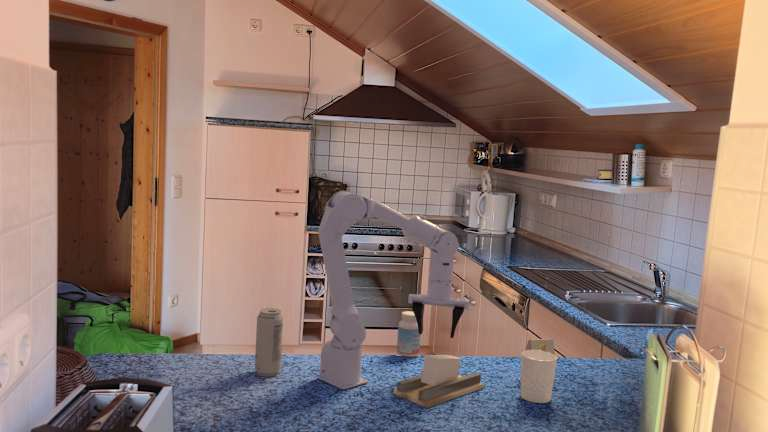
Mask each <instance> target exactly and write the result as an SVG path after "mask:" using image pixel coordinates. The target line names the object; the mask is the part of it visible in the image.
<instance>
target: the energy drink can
mask: <svg viewBox="0 0 768 432" xmlns="http://www.w3.org/2000/svg"><path fill="white" fill-rule="evenodd" d="M281 311H282V310H280V309H279V308H278V309H277V308H271V307H270V308H269V307H268V308H262V309H260V310H259V314H258V315H257V317H256V333H255V337H256V338H255V357H254V359H255V360H254V370H255V372H256V374H257V375H258V376H259V377H274V376H278V374H279V372H281V369H282V347H283V346H282V345H283V327H284V317H283V315H282V314H281Z"/></svg>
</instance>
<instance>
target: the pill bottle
mask: <svg viewBox="0 0 768 432" xmlns="http://www.w3.org/2000/svg"><path fill="white" fill-rule="evenodd" d="M397 327H398V328H397V341H396V353H397V355H398V356H401V357H407V358H414V357H415V358H416V357H417V356H418V355H420V348H421V347H420V346H421V335H422V334H419V331H418V324H417V320H416V317H415V315H414V312H413V310H410V311H409V310H405V311H402V312H401V320H400V321H399V322H398V326H397Z"/></svg>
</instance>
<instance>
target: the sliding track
mask: <svg viewBox="0 0 768 432" xmlns="http://www.w3.org/2000/svg"><path fill="white" fill-rule="evenodd" d="M481 376H482V374H481V373H478V372H473V373H470V374H467V375H460V372H459V373H458V378H457V379H454V380H451V381H448V382H445V383H442V384H439V385H436V386H432V385H429V384H426V383H423V382H421V377H422V374H420V375H418V376H414V377H413V376H412V377H410V378H407V379H404V380H400V381H397V382H396V383H397V384H396V388H394V389H393V395H396V396H398V397H399V398H402V399H405V400H407V401H410V402H412V403H414V404H417V405H418V406H422V407H423V408H426V409H429V408H431V407H434V406H436V405H439V404H442V403H445V402H448V401H450V400H453V399H456V398H460V397H462V396H465V395H467V394H471V393H473V392H476V391H479V390H482V389H484V383H482V382H481V380H482V379H481Z"/></svg>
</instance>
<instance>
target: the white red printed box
mask: <svg viewBox="0 0 768 432" xmlns="http://www.w3.org/2000/svg"><path fill="white" fill-rule="evenodd" d="M554 344H555V343H554V339H553V338H542V339H541V338H540V339H539V338H538V339H528V341H527V343H526V346H525V350H524V351H526V350H540V351H545V352H549V353H552V354H554V355H556V353H555V346H554Z"/></svg>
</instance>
